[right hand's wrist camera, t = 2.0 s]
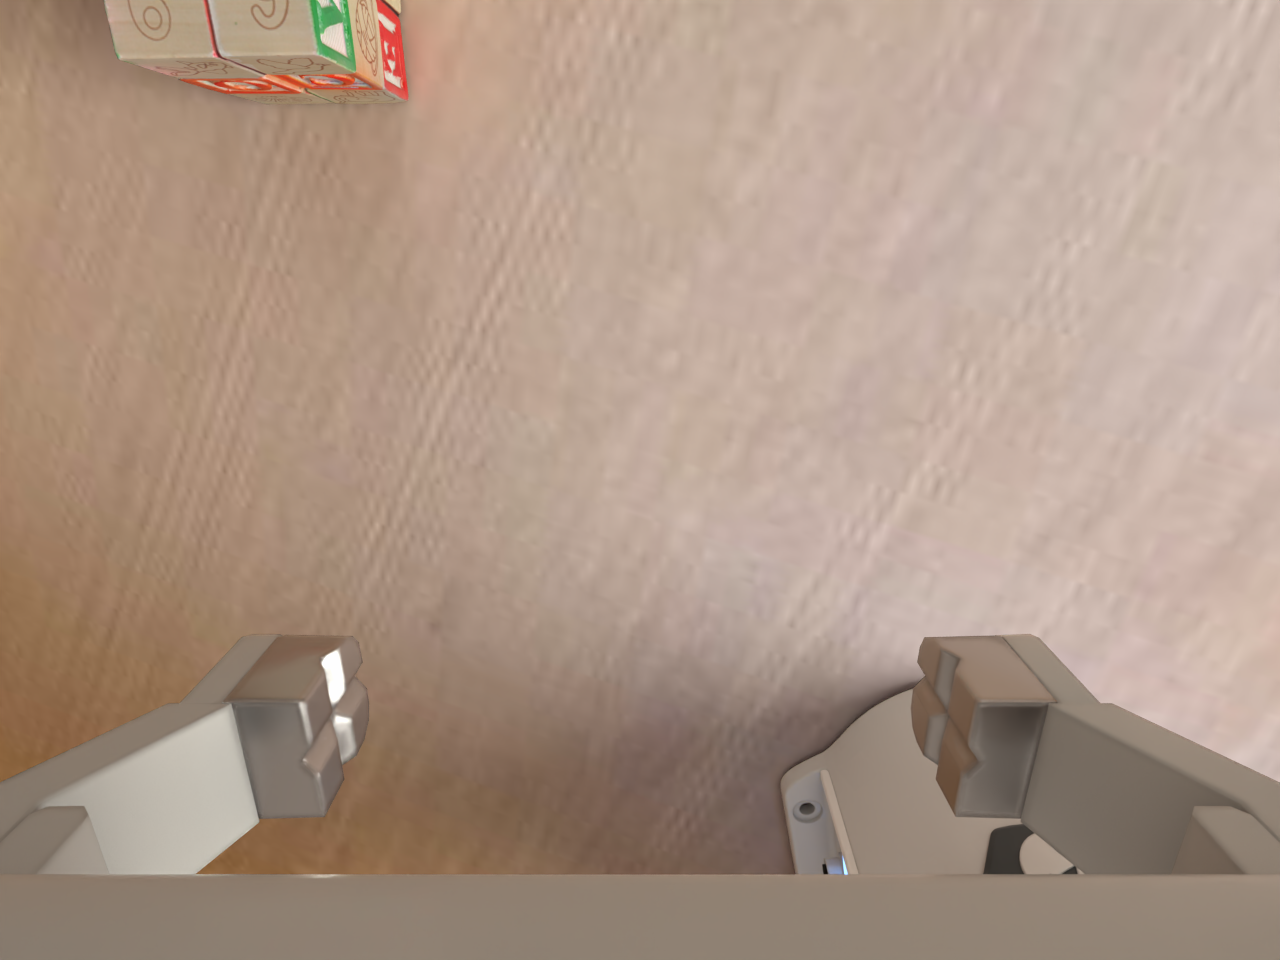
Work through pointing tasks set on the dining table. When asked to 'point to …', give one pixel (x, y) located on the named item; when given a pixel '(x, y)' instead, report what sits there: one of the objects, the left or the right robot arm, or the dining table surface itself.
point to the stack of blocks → (269, 47)
